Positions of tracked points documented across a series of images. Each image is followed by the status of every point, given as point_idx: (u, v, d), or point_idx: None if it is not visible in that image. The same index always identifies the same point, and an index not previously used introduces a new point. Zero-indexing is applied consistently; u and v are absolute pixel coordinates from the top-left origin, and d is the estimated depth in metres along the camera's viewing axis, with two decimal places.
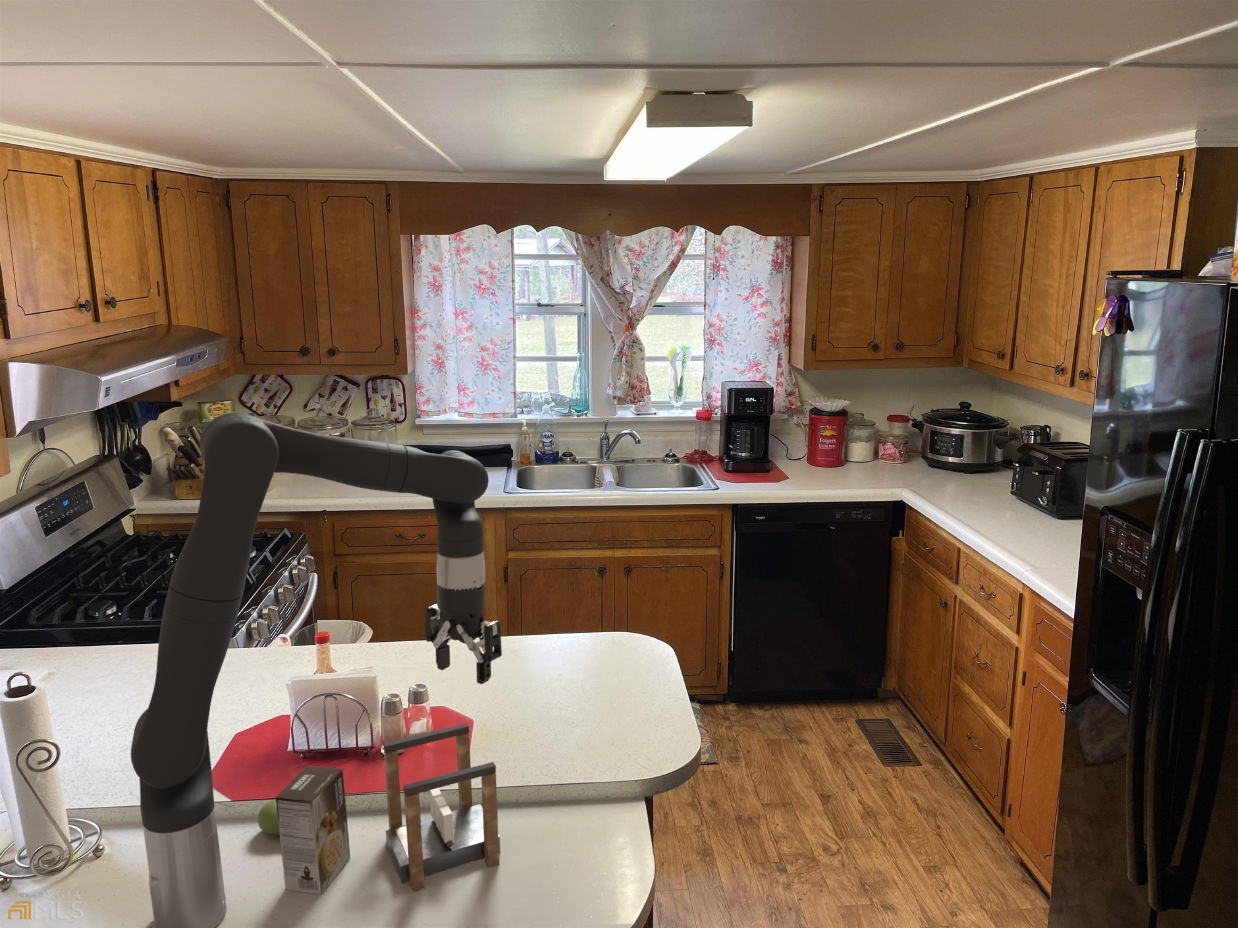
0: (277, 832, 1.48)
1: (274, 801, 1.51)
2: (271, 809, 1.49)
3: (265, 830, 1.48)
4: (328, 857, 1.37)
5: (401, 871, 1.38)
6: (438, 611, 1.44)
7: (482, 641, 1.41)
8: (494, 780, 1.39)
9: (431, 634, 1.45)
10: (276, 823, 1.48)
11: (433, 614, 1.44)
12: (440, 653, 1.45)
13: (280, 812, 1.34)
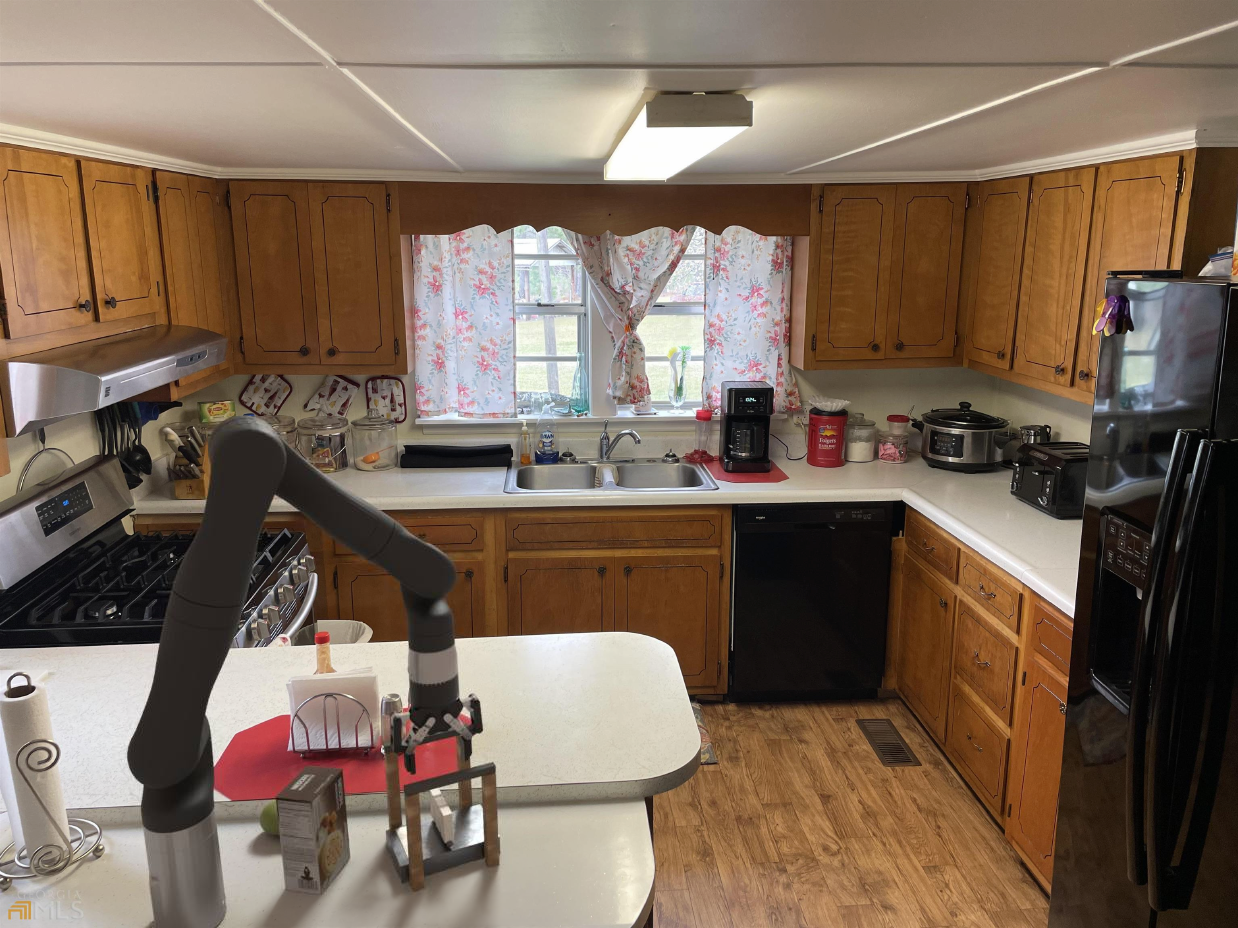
0: (279, 833, 1.48)
1: None
2: (274, 810, 1.49)
3: (267, 831, 1.48)
4: (328, 857, 1.37)
5: (401, 871, 1.38)
6: (406, 716, 1.38)
7: (459, 720, 1.43)
8: (494, 780, 1.39)
9: None
10: (278, 824, 1.47)
11: None
12: (414, 757, 1.39)
13: (280, 812, 1.34)
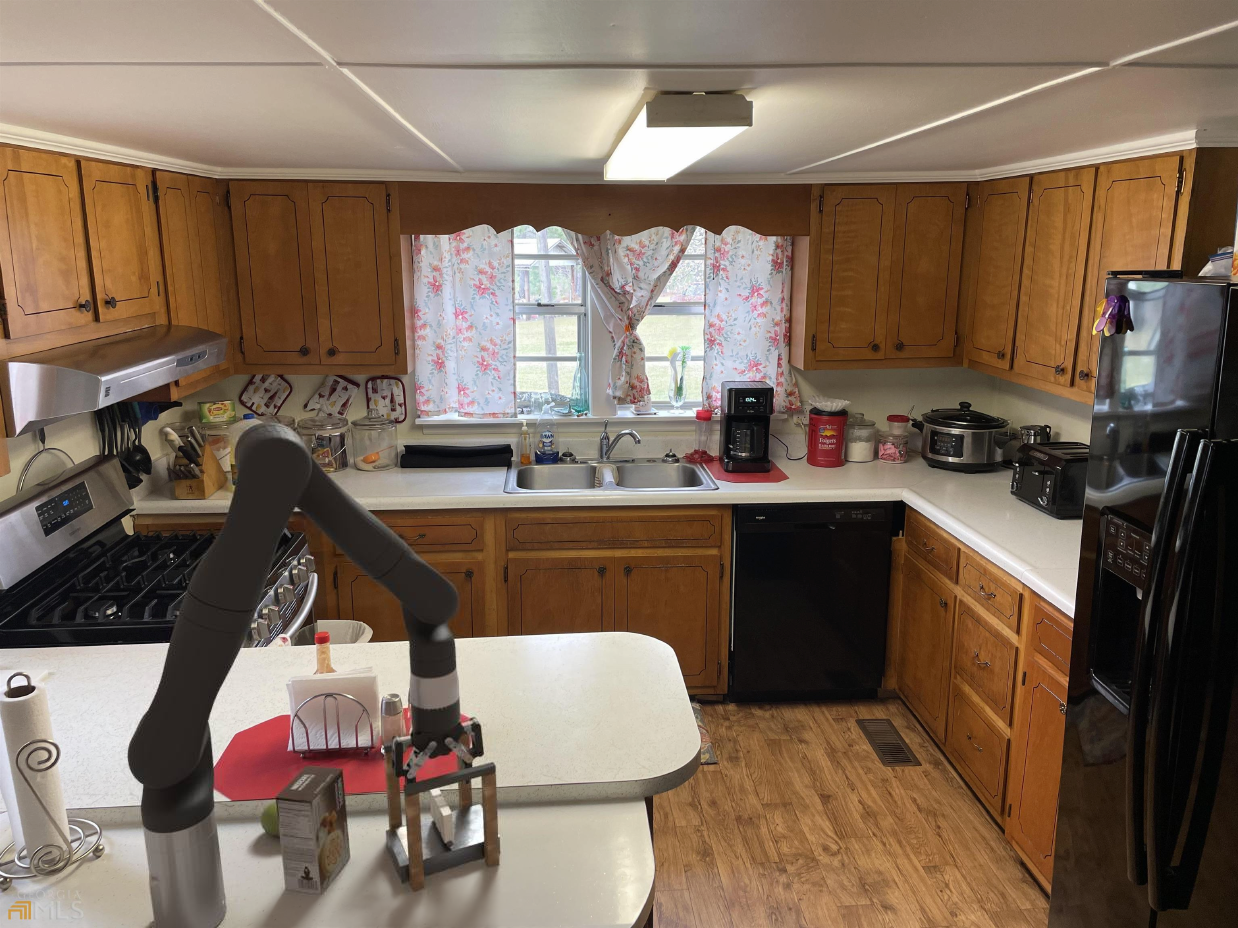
0: None
1: None
2: (275, 810, 1.49)
3: (268, 831, 1.48)
4: (328, 857, 1.37)
5: (401, 871, 1.38)
6: (408, 740, 1.39)
7: (460, 744, 1.44)
8: (494, 780, 1.39)
9: (402, 767, 1.39)
10: None
11: None
12: (415, 780, 1.40)
13: (280, 812, 1.34)
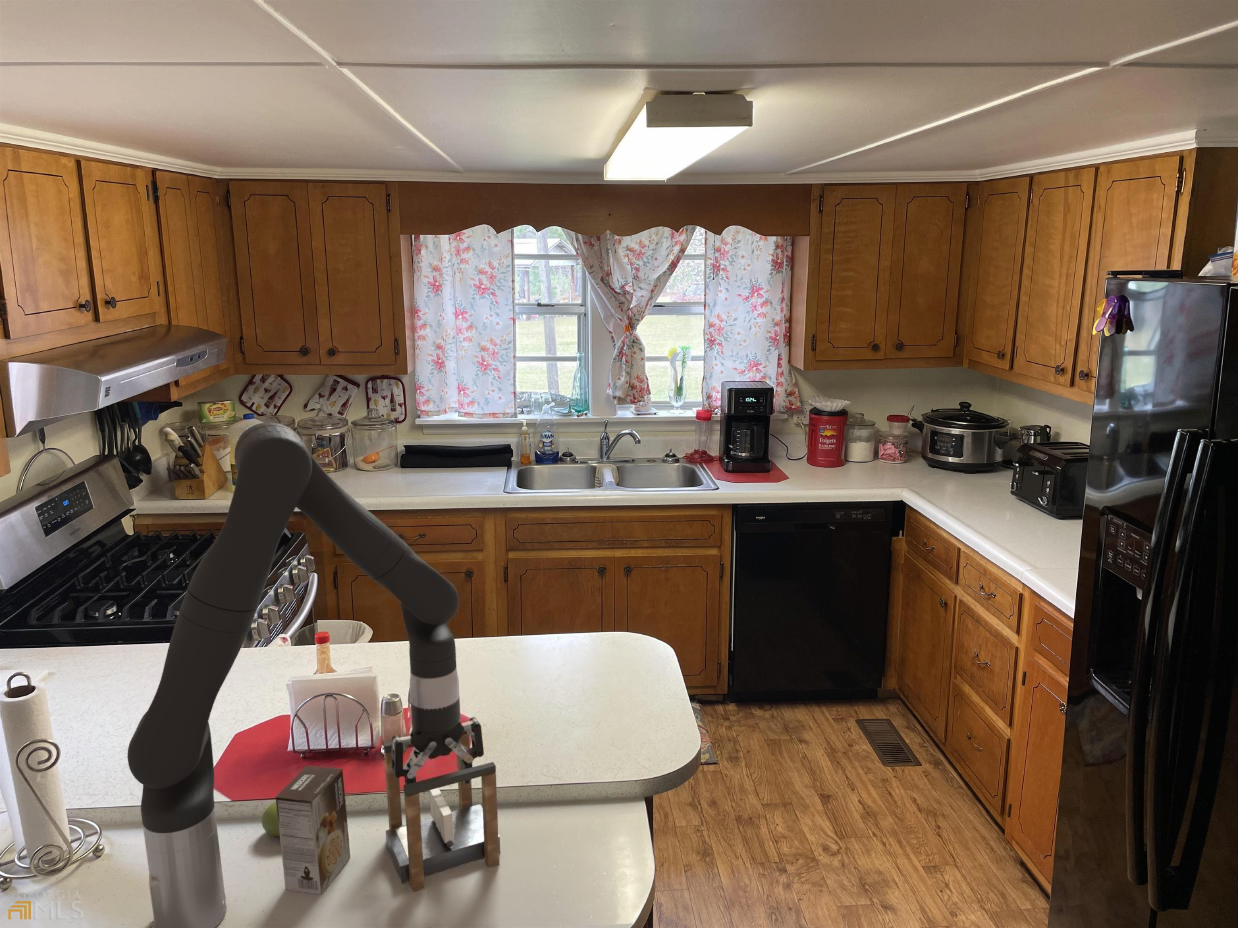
0: None
1: None
2: (276, 810, 1.48)
3: (269, 832, 1.48)
4: (328, 857, 1.37)
5: (401, 871, 1.38)
6: (408, 740, 1.39)
7: (460, 744, 1.44)
8: (494, 780, 1.39)
9: (402, 767, 1.39)
10: None
11: None
12: (415, 781, 1.40)
13: (280, 812, 1.34)
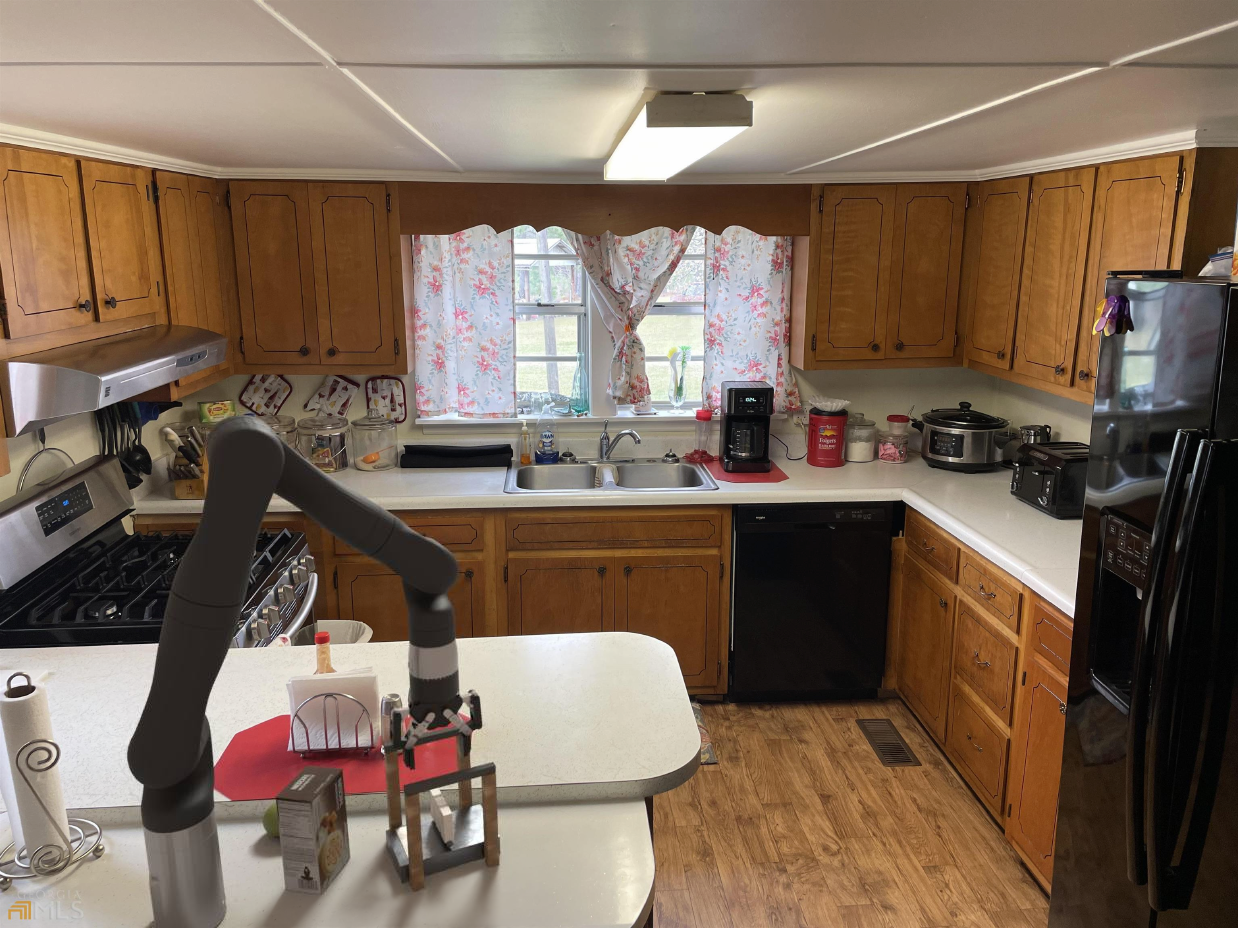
0: None
1: None
2: None
3: (270, 832, 1.48)
4: (328, 857, 1.37)
5: (401, 871, 1.38)
6: (406, 711, 1.38)
7: (459, 716, 1.43)
8: (494, 780, 1.39)
9: (400, 738, 1.38)
10: None
11: (400, 717, 1.38)
12: (413, 752, 1.39)
13: (280, 812, 1.34)
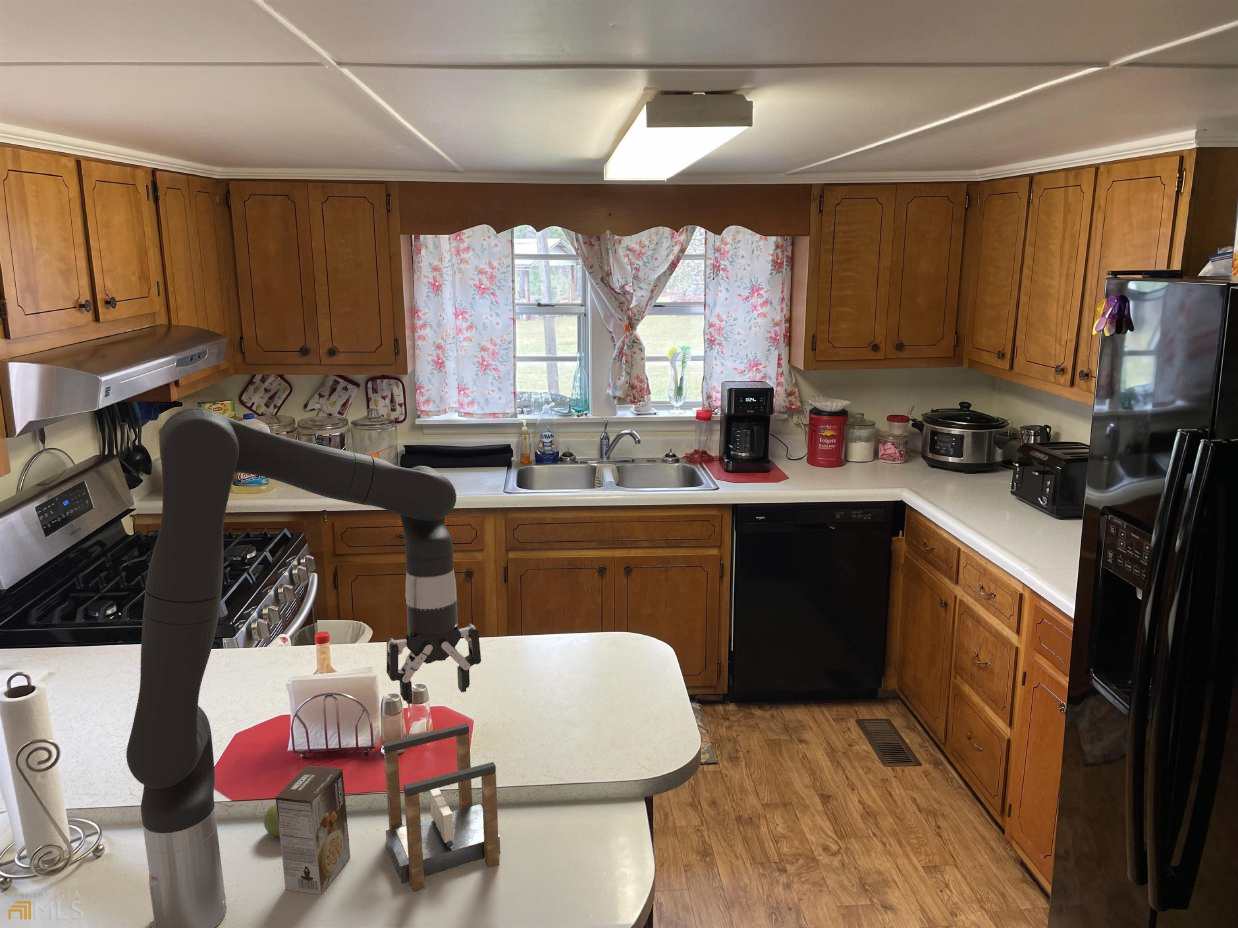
0: None
1: None
2: None
3: (271, 832, 1.48)
4: (328, 857, 1.37)
5: (401, 871, 1.38)
6: (403, 643, 1.36)
7: (457, 650, 1.41)
8: (494, 780, 1.39)
9: (397, 671, 1.35)
10: None
11: (397, 649, 1.35)
12: (411, 685, 1.37)
13: (280, 812, 1.34)
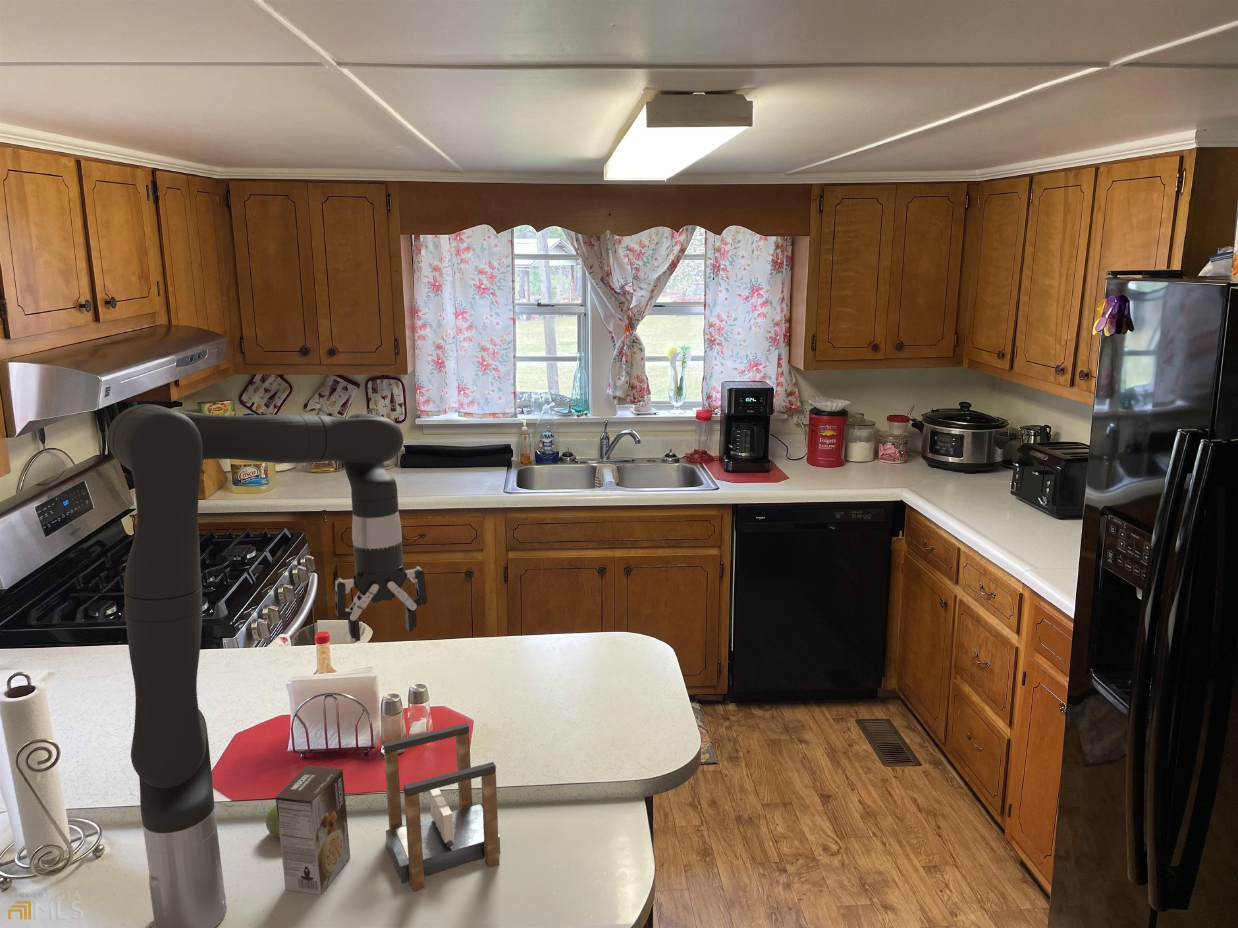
0: None
1: None
2: None
3: (273, 833, 1.48)
4: (327, 857, 1.37)
5: (401, 871, 1.38)
6: (350, 582, 1.42)
7: (404, 591, 1.47)
8: (494, 780, 1.39)
9: None
10: None
11: (344, 588, 1.41)
12: (358, 623, 1.43)
13: (280, 812, 1.34)
